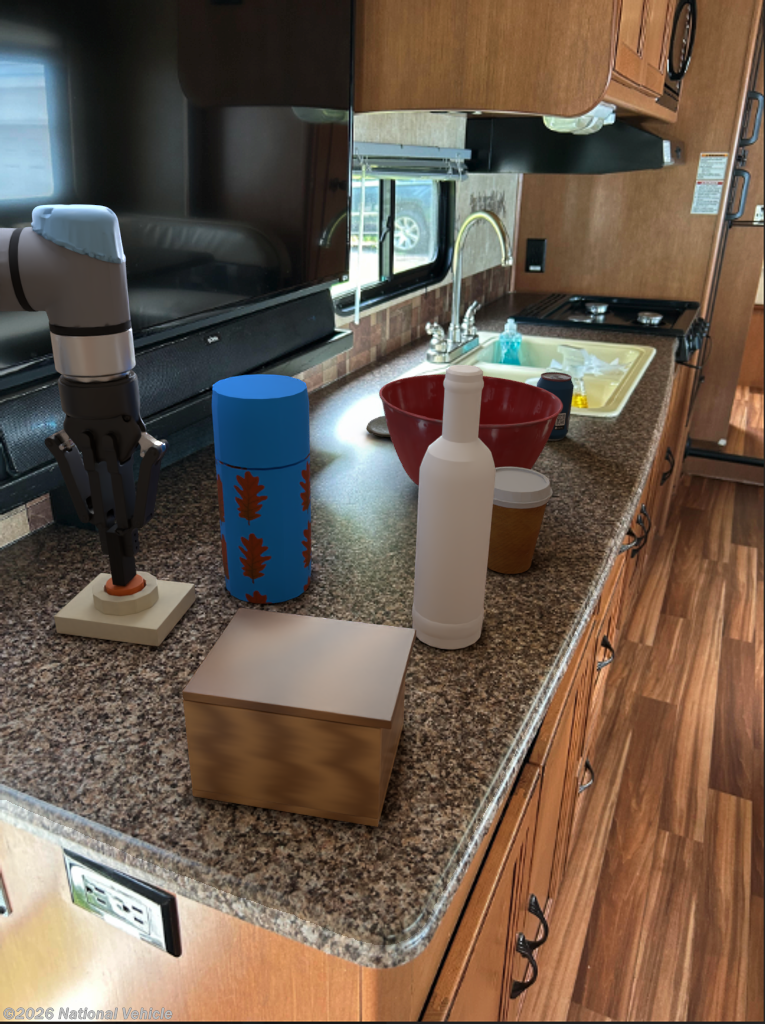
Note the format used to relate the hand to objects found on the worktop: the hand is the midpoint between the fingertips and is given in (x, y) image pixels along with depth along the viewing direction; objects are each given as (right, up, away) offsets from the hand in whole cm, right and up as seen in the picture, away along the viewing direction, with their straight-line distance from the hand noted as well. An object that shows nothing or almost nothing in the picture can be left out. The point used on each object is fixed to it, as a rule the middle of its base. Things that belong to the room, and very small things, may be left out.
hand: (124, 579), depth 86 cm
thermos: (+15, -1, +10) cm, 18 cm away
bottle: (+36, -6, +1) cm, 37 cm away
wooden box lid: (+23, -5, -22) cm, 32 cm away
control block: (0, -4, +2) cm, 5 cm away
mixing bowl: (+42, +11, +40) cm, 59 cm away
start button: (0, -2, +1) cm, 2 cm away
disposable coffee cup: (+45, +1, +16) cm, 48 cm away
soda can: (+62, +22, +64) cm, 92 cm away
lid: (+31, +23, +64) cm, 74 cm away
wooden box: (+22, -14, -18) cm, 32 cm away
